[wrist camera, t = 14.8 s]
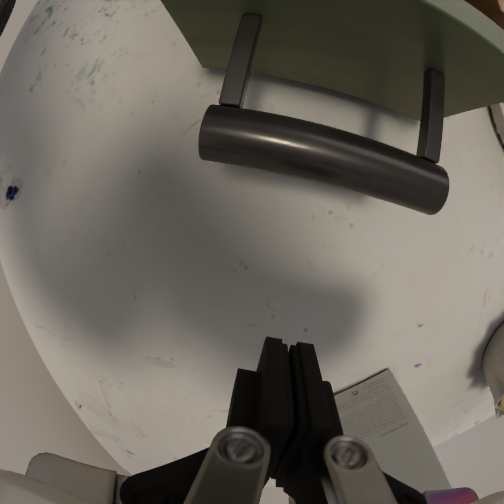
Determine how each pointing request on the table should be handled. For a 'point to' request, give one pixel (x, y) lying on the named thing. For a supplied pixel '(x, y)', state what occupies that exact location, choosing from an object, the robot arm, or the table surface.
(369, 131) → the table surface
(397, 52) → the drawer
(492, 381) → the cupcake
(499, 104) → the mechanical component
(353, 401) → the small box
